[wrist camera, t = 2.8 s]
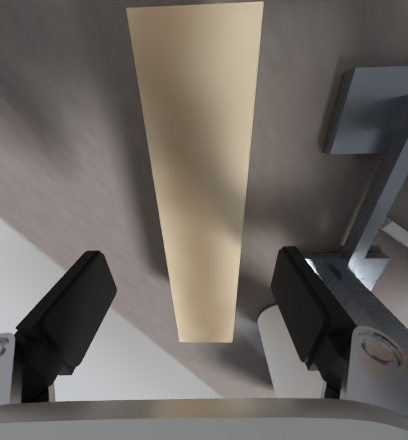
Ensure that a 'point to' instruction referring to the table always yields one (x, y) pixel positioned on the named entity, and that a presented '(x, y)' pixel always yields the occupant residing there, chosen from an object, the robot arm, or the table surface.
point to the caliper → (395, 231)
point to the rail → (199, 148)
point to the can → (286, 359)
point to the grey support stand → (377, 193)
